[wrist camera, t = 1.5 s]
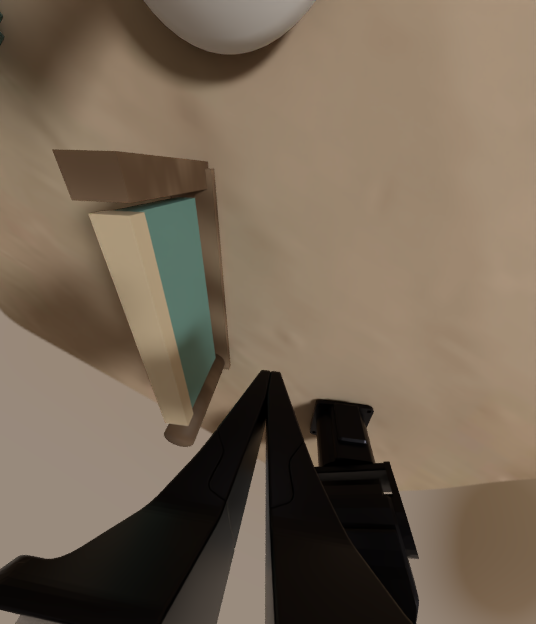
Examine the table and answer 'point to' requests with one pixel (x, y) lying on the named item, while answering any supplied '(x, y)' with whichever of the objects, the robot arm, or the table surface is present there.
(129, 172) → the gate frame
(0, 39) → the can
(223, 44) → the flower in vase
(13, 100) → the table surface
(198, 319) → the panel
